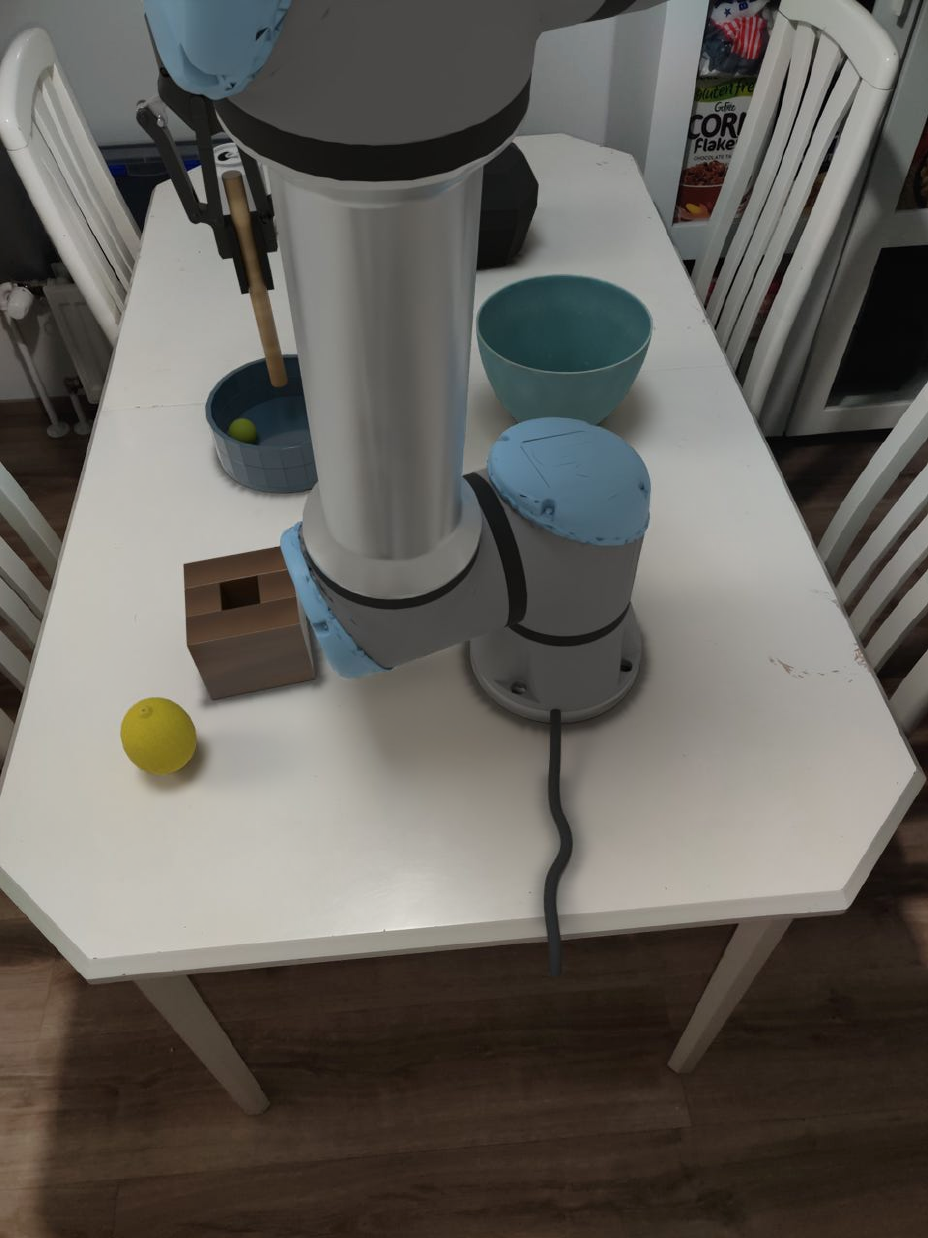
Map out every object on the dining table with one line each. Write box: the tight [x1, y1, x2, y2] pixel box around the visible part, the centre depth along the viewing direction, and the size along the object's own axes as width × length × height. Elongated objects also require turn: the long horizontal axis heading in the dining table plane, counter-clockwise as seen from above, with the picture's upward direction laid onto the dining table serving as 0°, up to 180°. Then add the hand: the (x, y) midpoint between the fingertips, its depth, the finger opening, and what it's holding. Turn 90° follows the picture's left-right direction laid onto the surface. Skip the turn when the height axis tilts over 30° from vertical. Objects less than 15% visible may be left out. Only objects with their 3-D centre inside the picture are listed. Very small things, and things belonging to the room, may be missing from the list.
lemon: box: [119, 696, 198, 776], centre depth 69 cm, size 6×6×8 cm
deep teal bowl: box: [475, 273, 654, 426], centre depth 94 cm, size 18×18×12 cm
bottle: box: [476, 141, 540, 271], centre depth 110 cm, size 16×16×30 cm
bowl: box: [204, 353, 318, 494], centre depth 95 cm, size 16×16×6 cm
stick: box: [221, 170, 288, 387], centre depth 85 cm, size 2×2×22 cm
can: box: [213, 142, 276, 229], centre depth 121 cm, size 8×8×12 cm
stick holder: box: [182, 545, 316, 700], centre depth 76 cm, size 9×9×8 cm
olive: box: [229, 418, 257, 444], centre depth 95 cm, size 3×3×3 cm
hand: (256, 284), depth 85 cm, fingers closed on stick, 2 cm apart
